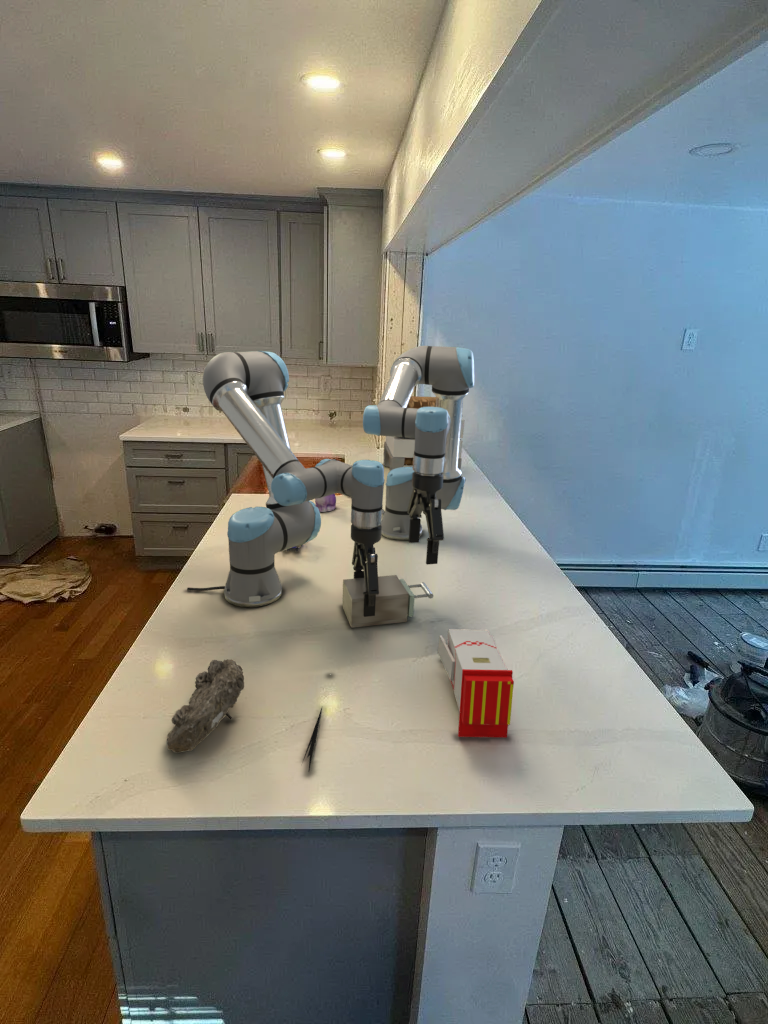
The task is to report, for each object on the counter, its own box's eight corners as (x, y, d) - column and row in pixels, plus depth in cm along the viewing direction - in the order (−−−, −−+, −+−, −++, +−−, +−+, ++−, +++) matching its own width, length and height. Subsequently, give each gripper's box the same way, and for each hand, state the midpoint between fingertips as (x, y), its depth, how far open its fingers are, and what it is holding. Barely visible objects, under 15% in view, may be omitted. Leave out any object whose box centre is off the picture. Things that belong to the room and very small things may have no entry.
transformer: (382, 463, 289) (386, 382, 275) (445, 464, 293) (451, 384, 279) (390, 482, 257) (394, 392, 243) (460, 483, 261) (468, 394, 247)
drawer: (422, 596, 155) (423, 576, 153) (434, 614, 146) (436, 593, 144) (354, 603, 150) (354, 582, 148) (362, 621, 141) (363, 600, 139)
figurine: (318, 514, 215) (318, 476, 210) (309, 505, 223) (309, 469, 218) (341, 511, 219) (342, 473, 214) (331, 503, 227) (331, 467, 222)
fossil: (192, 660, 117) (244, 628, 112) (224, 691, 120) (276, 661, 115) (142, 746, 98) (202, 712, 93) (182, 779, 101) (242, 748, 96)
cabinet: (394, 601, 154) (396, 574, 151) (406, 621, 144) (408, 593, 141) (342, 606, 150) (342, 579, 147) (351, 627, 140) (352, 599, 137)
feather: (331, 679, 122) (336, 673, 122) (307, 777, 96) (313, 769, 95) (324, 675, 122) (329, 669, 121) (298, 772, 95) (304, 764, 95)
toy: (488, 613, 130) (523, 677, 101) (484, 667, 133) (517, 744, 104) (435, 612, 130) (455, 676, 101) (432, 666, 133) (451, 743, 103)
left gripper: (395, 541, 128) (390, 626, 136) (369, 507, 149) (366, 582, 157) (362, 543, 126) (360, 629, 134) (341, 509, 147) (340, 585, 155)
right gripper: (462, 486, 127) (454, 572, 134) (425, 458, 150) (420, 533, 157) (431, 488, 125) (424, 575, 132) (398, 459, 148) (394, 535, 155)
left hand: (363, 604), depth 145 cm, fingers closed on cabinet, 11 cm apart
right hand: (422, 552), depth 145 cm, fingers open, 13 cm apart
